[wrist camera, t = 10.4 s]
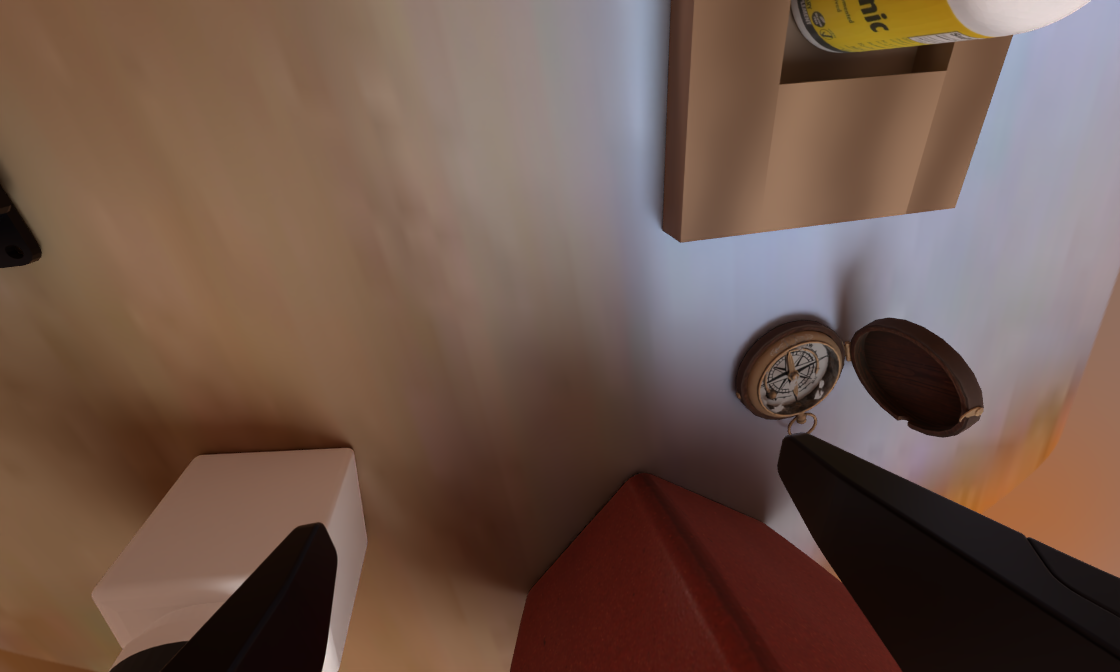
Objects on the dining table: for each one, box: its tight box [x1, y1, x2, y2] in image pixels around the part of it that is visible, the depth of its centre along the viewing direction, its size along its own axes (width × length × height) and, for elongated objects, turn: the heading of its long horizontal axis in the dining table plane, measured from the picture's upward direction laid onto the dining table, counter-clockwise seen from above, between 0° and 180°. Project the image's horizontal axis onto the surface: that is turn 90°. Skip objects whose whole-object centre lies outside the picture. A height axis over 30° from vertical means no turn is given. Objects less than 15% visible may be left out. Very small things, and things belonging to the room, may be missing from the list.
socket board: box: [663, 0, 1013, 242], centre depth 17 cm, size 13×15×2 cm
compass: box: [736, 318, 984, 437], centre depth 23 cm, size 8×8×7 cm
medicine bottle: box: [92, 448, 368, 672], centre depth 19 cm, size 7×7×12 cm
